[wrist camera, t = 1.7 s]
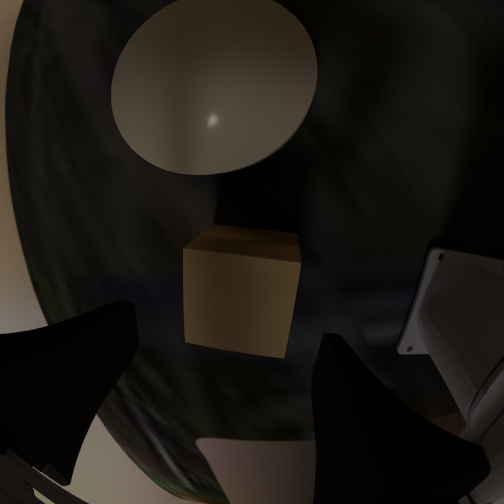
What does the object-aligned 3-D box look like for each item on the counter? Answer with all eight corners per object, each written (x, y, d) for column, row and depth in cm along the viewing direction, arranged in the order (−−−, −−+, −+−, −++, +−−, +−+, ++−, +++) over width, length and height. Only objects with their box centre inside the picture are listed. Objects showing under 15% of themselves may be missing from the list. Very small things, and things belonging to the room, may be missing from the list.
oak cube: (297, 233, 16) (301, 263, 11) (286, 309, 17) (284, 358, 13) (213, 223, 16) (183, 247, 12) (210, 298, 18) (185, 341, 13)
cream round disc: (316, 17, 12) (319, -7, 9) (304, 182, 15) (307, 185, 12) (150, 23, 13) (130, 6, 10) (130, 170, 16) (103, 173, 13)
